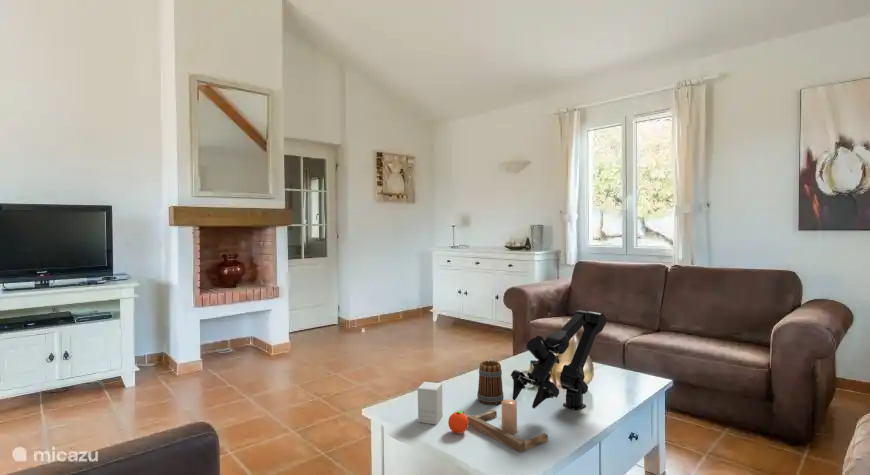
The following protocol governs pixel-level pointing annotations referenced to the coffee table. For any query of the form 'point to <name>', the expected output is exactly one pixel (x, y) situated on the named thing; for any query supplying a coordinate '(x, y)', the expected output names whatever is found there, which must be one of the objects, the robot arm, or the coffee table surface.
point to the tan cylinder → (509, 416)
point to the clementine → (458, 422)
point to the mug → (490, 383)
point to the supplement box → (430, 403)
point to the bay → (503, 432)
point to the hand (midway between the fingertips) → (523, 403)
